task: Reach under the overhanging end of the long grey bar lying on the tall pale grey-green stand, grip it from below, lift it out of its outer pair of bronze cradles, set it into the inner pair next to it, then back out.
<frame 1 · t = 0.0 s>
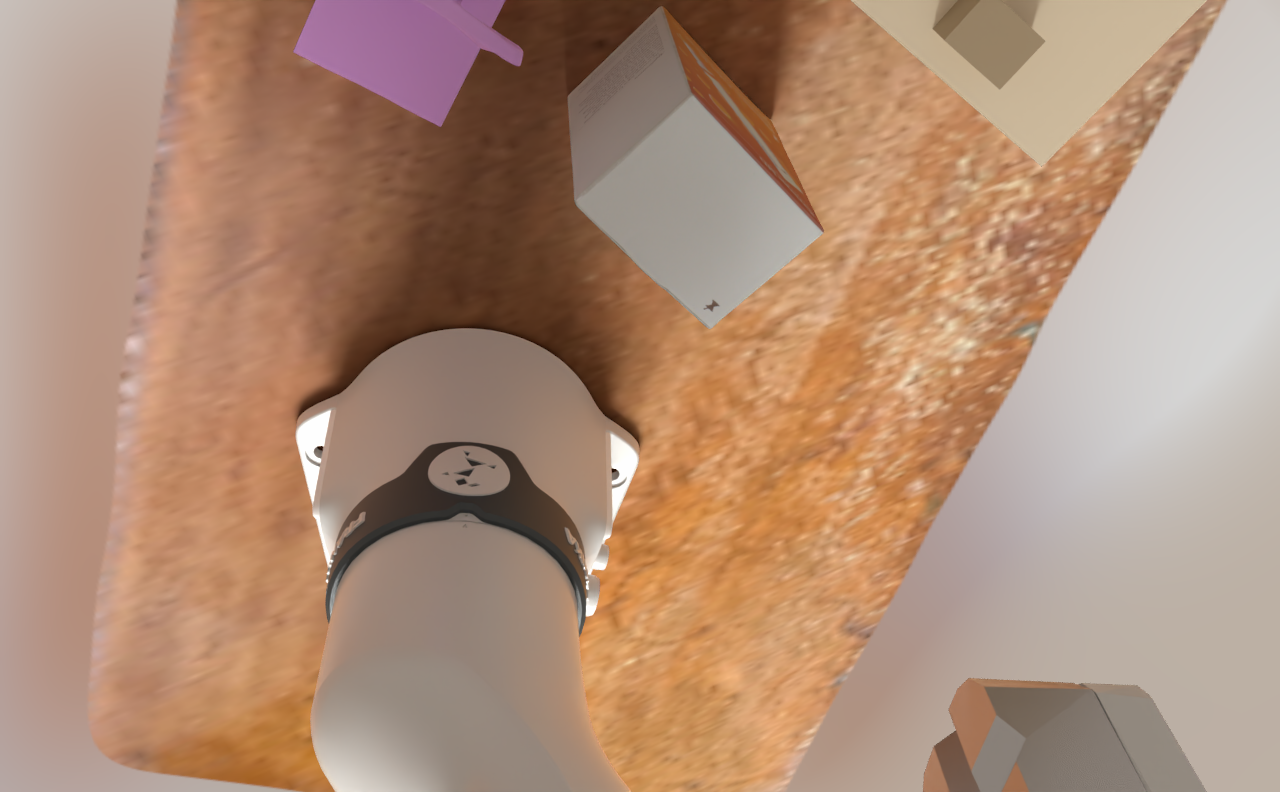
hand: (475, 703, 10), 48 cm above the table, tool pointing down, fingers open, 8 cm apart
small box: (670, 106, 57), on the table
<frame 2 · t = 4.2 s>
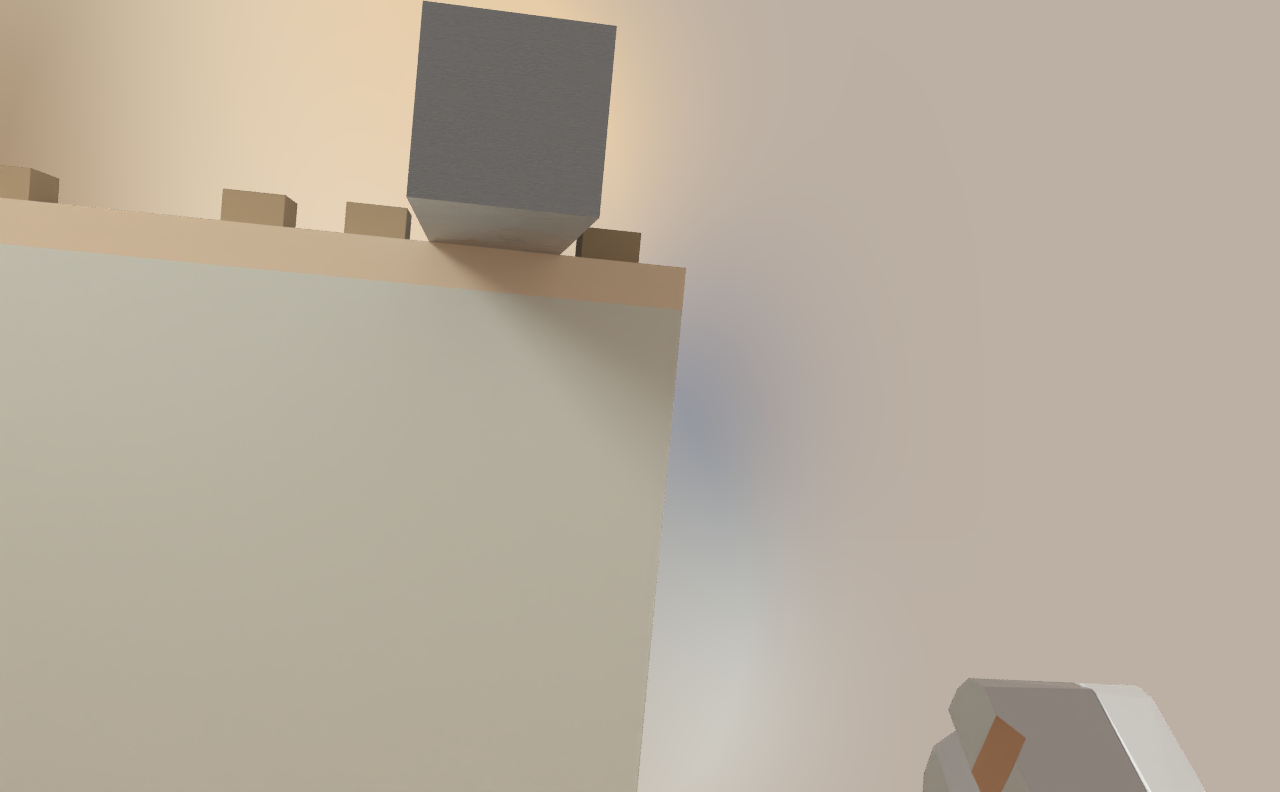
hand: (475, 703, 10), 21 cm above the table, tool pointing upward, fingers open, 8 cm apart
long grey bar: (492, 261, 32), point 26 cm above the table, touching stand
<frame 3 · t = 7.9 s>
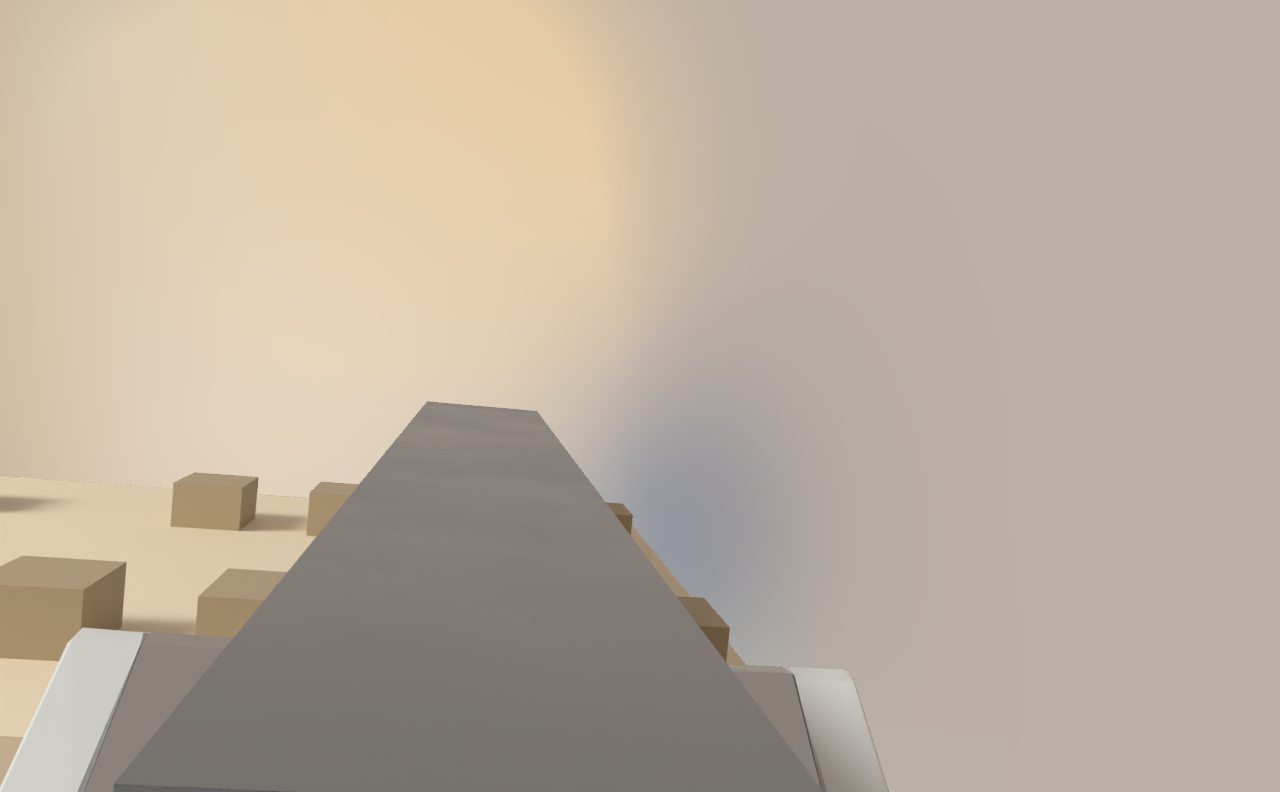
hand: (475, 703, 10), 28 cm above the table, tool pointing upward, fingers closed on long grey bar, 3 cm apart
long grey bar: (466, 645, 19), point 26 cm above the table, touching gripper, stand
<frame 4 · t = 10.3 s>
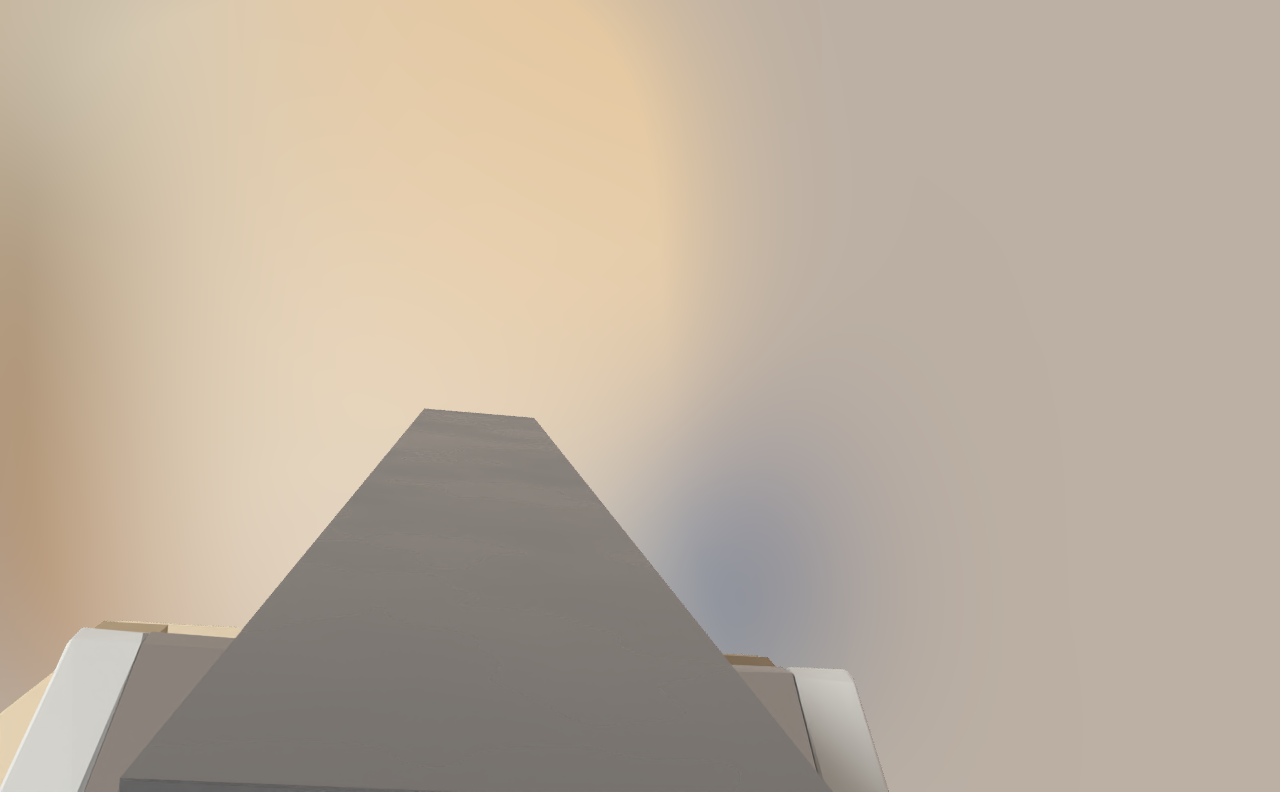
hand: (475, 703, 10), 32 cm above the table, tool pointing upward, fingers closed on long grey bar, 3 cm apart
long grey bar: (465, 650, 19), point 30 cm above the table, touching gripper
when the fingers open (29 cm above the table, at t = 12.7 s): long grey bar stays where it is, resting on stand.
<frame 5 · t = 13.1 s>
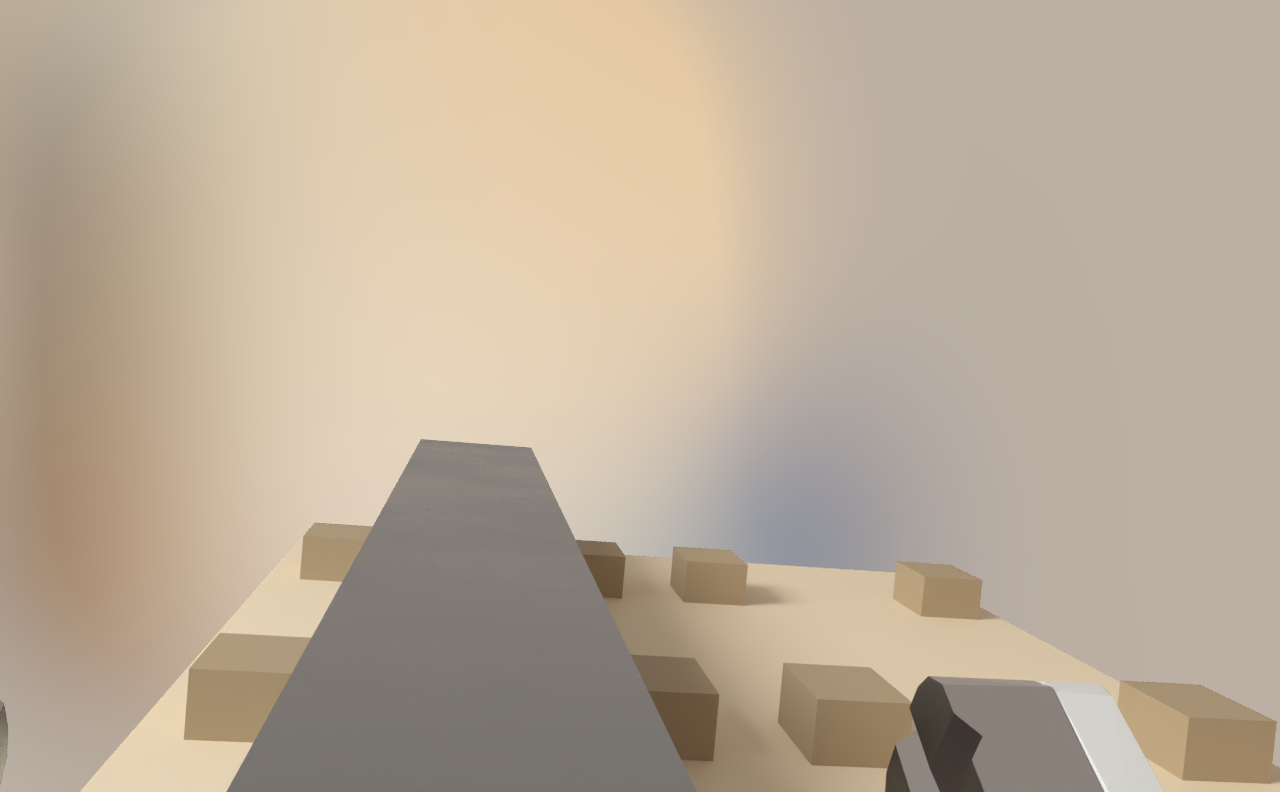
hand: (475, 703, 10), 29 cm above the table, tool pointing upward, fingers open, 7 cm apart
long grey bar: (459, 709, 19), point 26 cm above the table, touching stand
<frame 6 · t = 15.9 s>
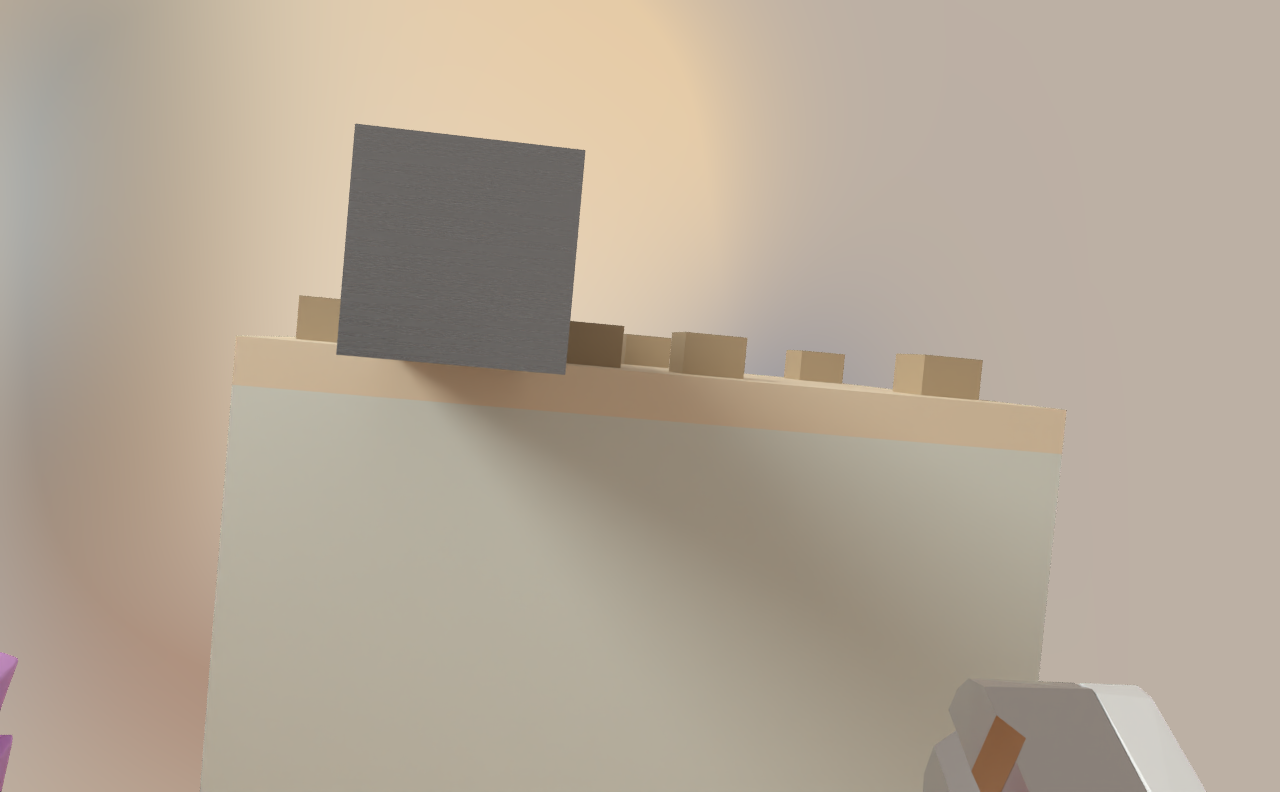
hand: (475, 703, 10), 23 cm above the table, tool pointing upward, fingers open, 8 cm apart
long grey bar: (462, 353, 30), point 26 cm above the table, touching stand
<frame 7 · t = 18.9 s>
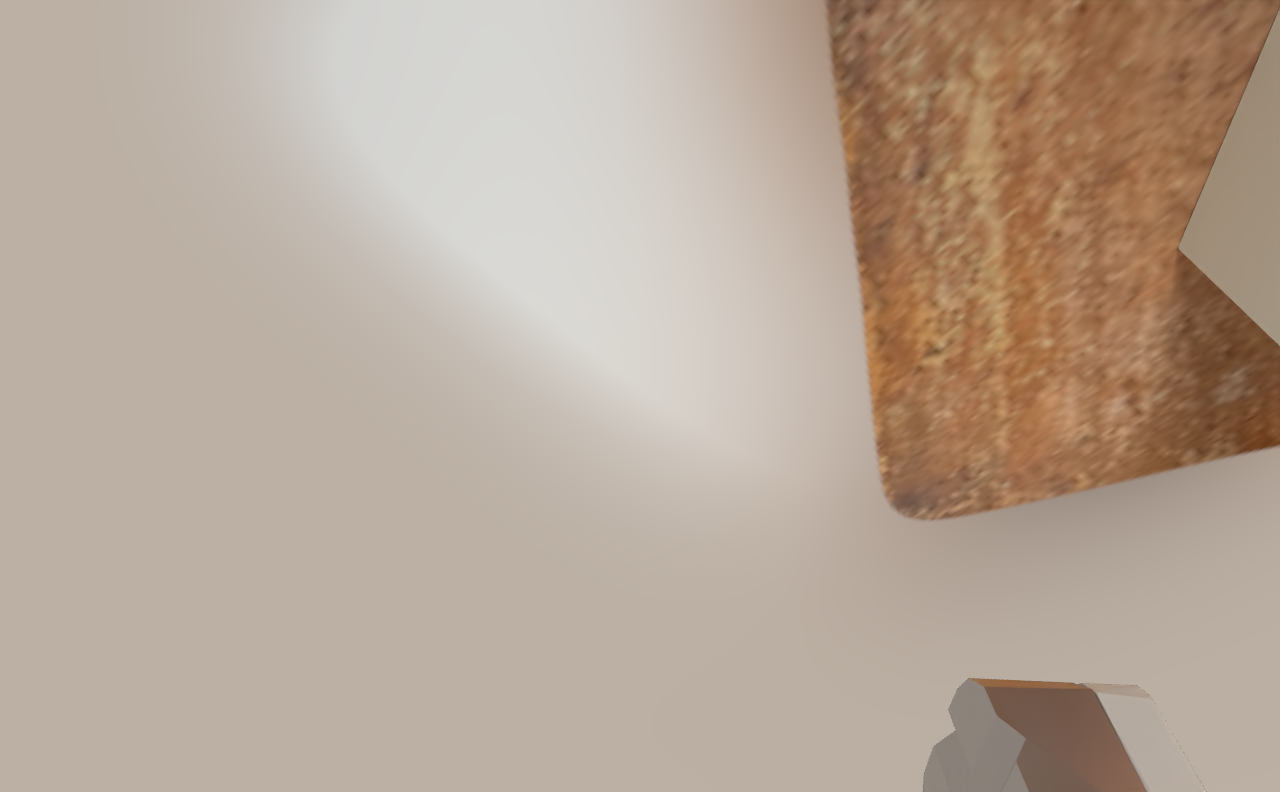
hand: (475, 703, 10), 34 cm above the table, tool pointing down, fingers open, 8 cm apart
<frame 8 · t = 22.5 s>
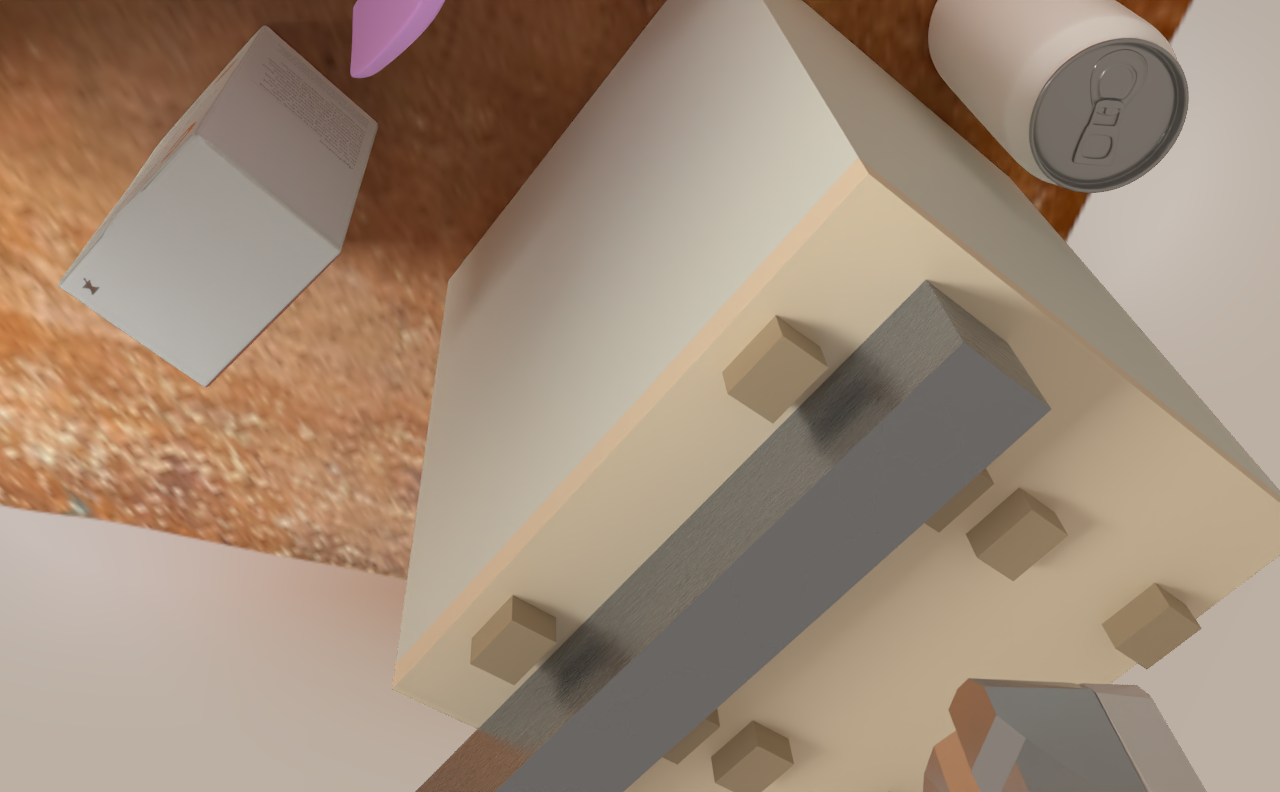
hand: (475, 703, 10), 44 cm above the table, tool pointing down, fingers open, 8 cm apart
stand: (727, 229, 56), on the table
can: (996, 22, 52), on the table
long grey bar: (616, 652, 35), point 26 cm above the table, touching stand
small box: (269, 135, 52), on the table
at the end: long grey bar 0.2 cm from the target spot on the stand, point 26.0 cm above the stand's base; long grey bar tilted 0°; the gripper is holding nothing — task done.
